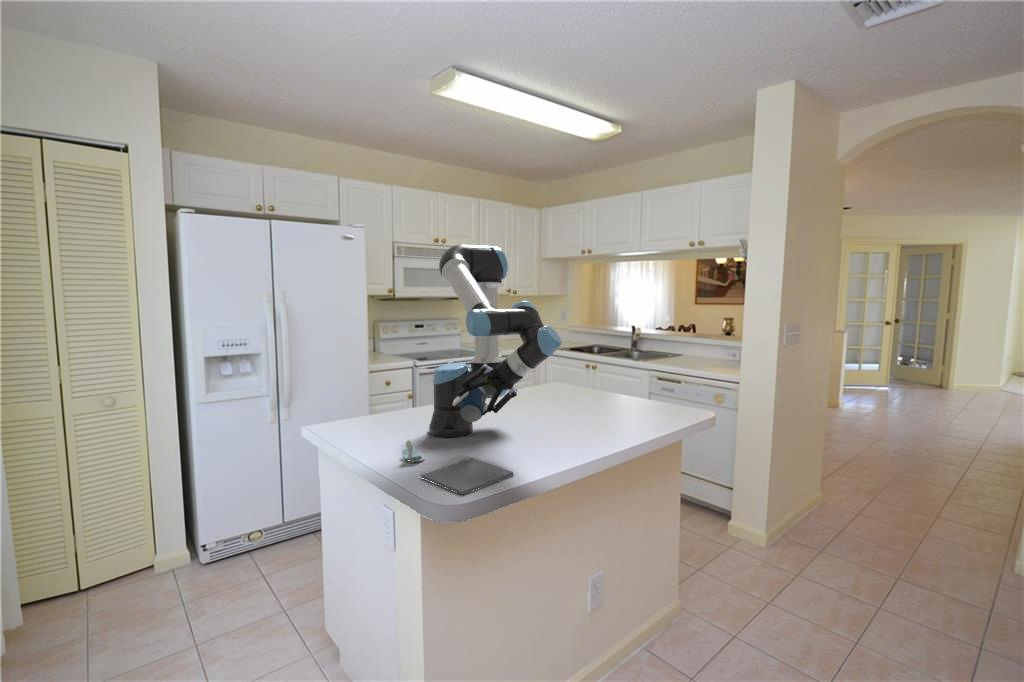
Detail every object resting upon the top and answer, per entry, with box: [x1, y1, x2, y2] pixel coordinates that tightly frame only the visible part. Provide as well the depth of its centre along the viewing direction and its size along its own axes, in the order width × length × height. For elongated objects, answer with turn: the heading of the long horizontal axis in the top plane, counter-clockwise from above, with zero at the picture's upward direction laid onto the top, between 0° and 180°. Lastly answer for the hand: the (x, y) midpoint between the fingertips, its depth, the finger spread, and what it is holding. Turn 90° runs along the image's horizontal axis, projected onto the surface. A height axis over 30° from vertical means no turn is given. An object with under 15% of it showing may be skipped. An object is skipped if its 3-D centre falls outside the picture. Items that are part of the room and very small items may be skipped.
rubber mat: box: [420, 457, 514, 496], centre depth 129 cm, size 16×18×1 cm
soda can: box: [460, 386, 487, 423], centre depth 149 cm, size 7×7×12 cm
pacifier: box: [401, 439, 425, 463], centre depth 142 cm, size 7×6×6 cm
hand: (463, 410), depth 151 cm, fingers closed on soda can, 7 cm apart
